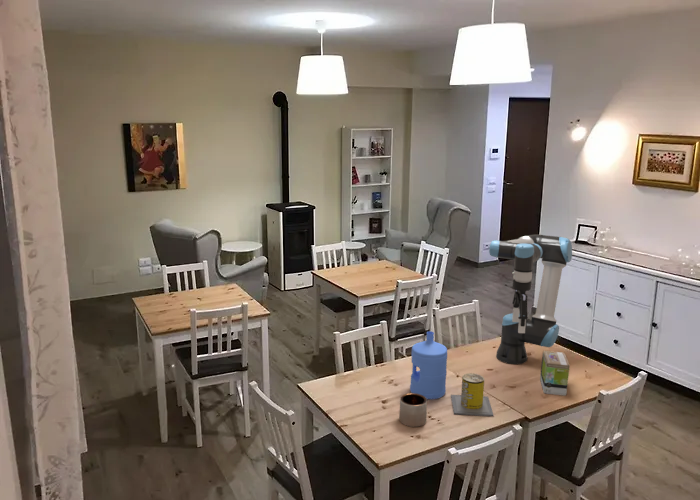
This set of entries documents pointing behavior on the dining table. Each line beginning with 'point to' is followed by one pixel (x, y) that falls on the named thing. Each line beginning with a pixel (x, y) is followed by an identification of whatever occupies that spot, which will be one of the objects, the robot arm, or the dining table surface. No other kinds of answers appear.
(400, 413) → the planter
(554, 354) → the tea box
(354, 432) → the dining table surface
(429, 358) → the water jug
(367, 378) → the dining table surface
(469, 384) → the beverage can
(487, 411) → the plate
